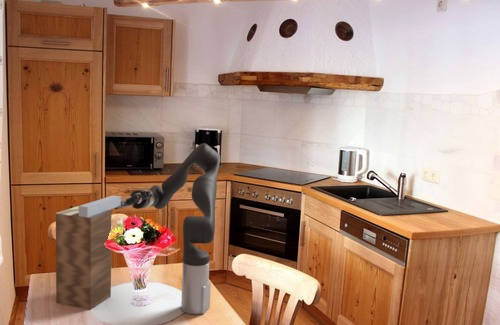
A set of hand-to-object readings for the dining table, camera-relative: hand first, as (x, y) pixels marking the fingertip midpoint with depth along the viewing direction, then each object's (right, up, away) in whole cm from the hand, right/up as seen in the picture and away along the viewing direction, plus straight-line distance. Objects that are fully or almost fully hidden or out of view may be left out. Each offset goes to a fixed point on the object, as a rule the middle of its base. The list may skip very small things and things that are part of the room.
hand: (124, 201), depth 181 cm
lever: (-6, -3, -10) cm, 12 cm away
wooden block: (-12, -35, -9) cm, 38 cm away
